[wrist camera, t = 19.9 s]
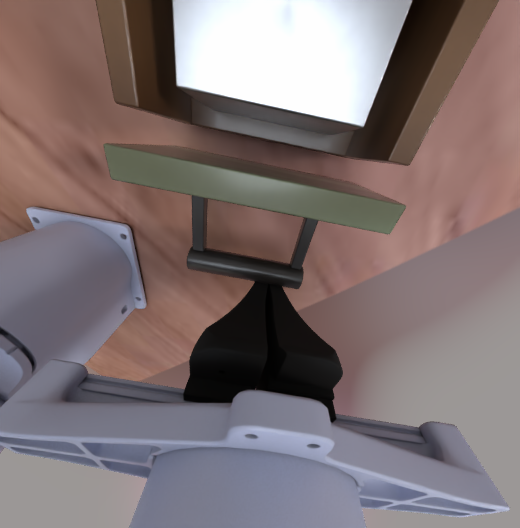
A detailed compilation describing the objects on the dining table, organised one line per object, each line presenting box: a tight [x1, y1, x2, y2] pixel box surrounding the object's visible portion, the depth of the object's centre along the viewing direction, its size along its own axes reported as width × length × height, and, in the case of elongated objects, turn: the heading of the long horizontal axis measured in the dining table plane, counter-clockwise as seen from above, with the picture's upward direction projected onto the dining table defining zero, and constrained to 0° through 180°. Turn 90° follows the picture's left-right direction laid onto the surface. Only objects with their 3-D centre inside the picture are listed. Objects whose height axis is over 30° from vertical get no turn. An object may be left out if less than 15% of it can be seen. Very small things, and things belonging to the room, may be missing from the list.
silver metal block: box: [172, 0, 413, 135], centre depth 7 cm, size 6×4×4 cm
